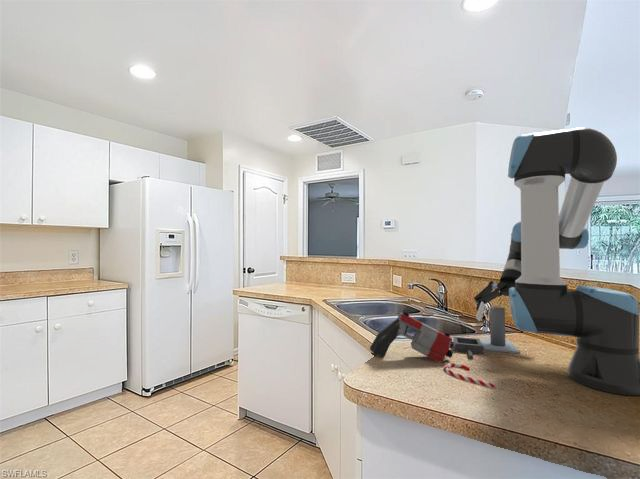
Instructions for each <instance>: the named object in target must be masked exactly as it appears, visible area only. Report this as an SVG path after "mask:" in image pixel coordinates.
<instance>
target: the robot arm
mask: <svg viewBox="0 0 640 479" xmlns="http://www.w3.org/2000/svg"><path fill="white" fill-rule="evenodd" d="M617 161H618V156H617V151H616V147H615V146H614V144H613V143H612V141H611V139H609V138H608V136H606V135H605V134H604V133H602V132H601V131H598V130H597V129H593V128H590V127H589V128H588V127H574V128H569V129H559V130H550V131H542V132H541V131H540V132H535V131H534V132H532V133H526V134H520V135H518V136H517V137H515V139H514V140H513V143H512V147H511V150H510V156H509V162H508V169H507V170H508V172H507V176H508V177H507V178H510V179H514V180H513V184H514V186H516V187H517V188H518V189H519V190H520V221H518V222H516V223H515V224H514V225H513V226H512V230H511V235H510V245H509V250H508V252H509V253H508V255H507V257H506V258H507V260H506V262H505V265H504V268H503V270H502V273H501V276H500V278H499V282H498V283H497V282H494V281H492V280H490V281H489V283H488V284H487V285H486V286H485V287H484V288H483V289H482V290H481V291H480V292H478V293H477V295H475V296H474V298H473V300H474V302H475V303H476V308H475V309H476V311H477V312H476V315H475V318H476V320H477V321H478V322H481V321H482V318H483V314H484V312H485V309H486V304H488V303H489V302H491V301H493V300H495V299H496V298H499V297H502V296H504V297H508V298H509V300H508V301H509V306H510V312H511V317H512V321H513V324H514V326H515V328H516V329H517V330H519V331H522V332H525V333H533V334H535V335H538V334H544V335H553V336H564V337H573V338H576V348H575V350H574V352H573V354H572V357H571V359H570V361H569V364H568V372H567V374H568V376H569V378H570V379H572V380H573V381H575V382H577V383H579V384H581V385H583V386H586V387H589V388H592V389H595V390H598V391H602V392H606V393H612V394H617V395H622V396H623V395H624V396H640V352H639V351H640V348H639V347H640V310H639V301H638V299H637V297H636V296H634V295H633V294H630V293H628V292H624V291H620V290H614V289H610V288H605V287H598V286H590V285H582V284H579V285H577V286H576V288H575V290H568V283H567V282H566V281H565V280H564V279H563V278H562V277H561V270H560V269H561V267H560V266H561V262H560V250H563V249H564V250H565V249H566V250H567V249H568V250H575V249H585V248H586V247H587V246H588V244H589V241H590V240H589V239H590V234H589V231H588V228H587V227H586V225H587V223H588V221H589V218H590V216H591V213H592V211H593V210H594V206H595V205H596V201H597V200H598V197H599V195H600V193H601V190H602V188H603V185H604V184H605V182H607V181H609V180H610V179H611V178H612V176H613V175H614V172H615V170H616V168H617ZM566 175H569V176H570V180H569V184H568V185H567V190H566V193H565V196H564V199H563V203H562V205H561V209H560V208H559V203H560V202H559V187H560V185H562V183H564V182H565V181H566ZM559 210H560V212H559Z"/></svg>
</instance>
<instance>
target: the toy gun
mask: <svg viewBox="0 0 640 479" xmlns="http://www.w3.org/2000/svg"><path fill="white" fill-rule="evenodd" d="M409 328H410V329H412V330H414V331H415V332H414V334H413V335H412V334H410V333H409V332H407V331H408V329H409ZM400 335H401V336H403V337H406V338H408V339H409V340H411V342H410V346H411V349H413V350H414V351H416V352H418V353H420V354H421V355H423V356H426V357H427V358H429V359H432V360H433V361H435V362H437V363H442V362H444V361H445V360H446V357H448V358H450V359H451V358H452V356H453V355H454V351H453V350H451V349H452V348H454V342H453V337H451V335H450V334H449V333H448V332H446V331H445V332H444V333H443V332H441V331H439V330H437V329H435V328H434V327H432V326H429V325H428V324H426V323H424V322H422V321H420V320H418V319H415V318H414V317H412V316H411V315H410V313H409V312H407V311H403V312H401V311H400V313H398V315H397V318H396V319H395V320H393V321H392V322H391V323H389V324H388V325H387V326H385V327H384V328H383V329H381V330H379V332H378V333H377V335H376V336H375V338H374V340H373V342H372V343H371V345H370V347H369V350H370V351H371V353H373V354H374V355H377V356H379V357H382V358H385V357H386V354H387V352H388V350H389V348H390V346H391V345H392V343H393V342H394V340H396V338H397V337H398V336H400Z"/></svg>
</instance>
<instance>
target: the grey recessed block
mask: <svg viewBox="0 0 640 479" xmlns="http://www.w3.org/2000/svg"><path fill="white" fill-rule="evenodd" d="M452 342H454V345H453V349H454V351H455V352H461V353H467V355H468V359H469V360H473V357H474V355H473V354H480V355H481V354H484V352H483V351H484V349H483V345H482V344H481V342H480V340H479V338H474V337H472V338H471V337H463V336H462V337H461V336H453V337H452Z"/></svg>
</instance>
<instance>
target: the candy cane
mask: <svg viewBox="0 0 640 479" xmlns="http://www.w3.org/2000/svg"><path fill="white" fill-rule="evenodd" d="M453 368H459V369H463V370H465V371H471V368H470V367H469V366H466V365H464V364H461V363H453V362H452V363H448V364H445V365H444V366H443V371H444V373H446V374H447V375H450V376H452V377H455V378H457V379H459V380H463V381H465V382H468V383H471V384H476V385H479V386H483V387H487V388H491V389H495V388H496V385H495V383H492V382H488V381H484V380H480V379H477V378H473V377H470V376H467V375H463V374H460V373H458V372H455V371H453V370H451V369H453Z"/></svg>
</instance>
